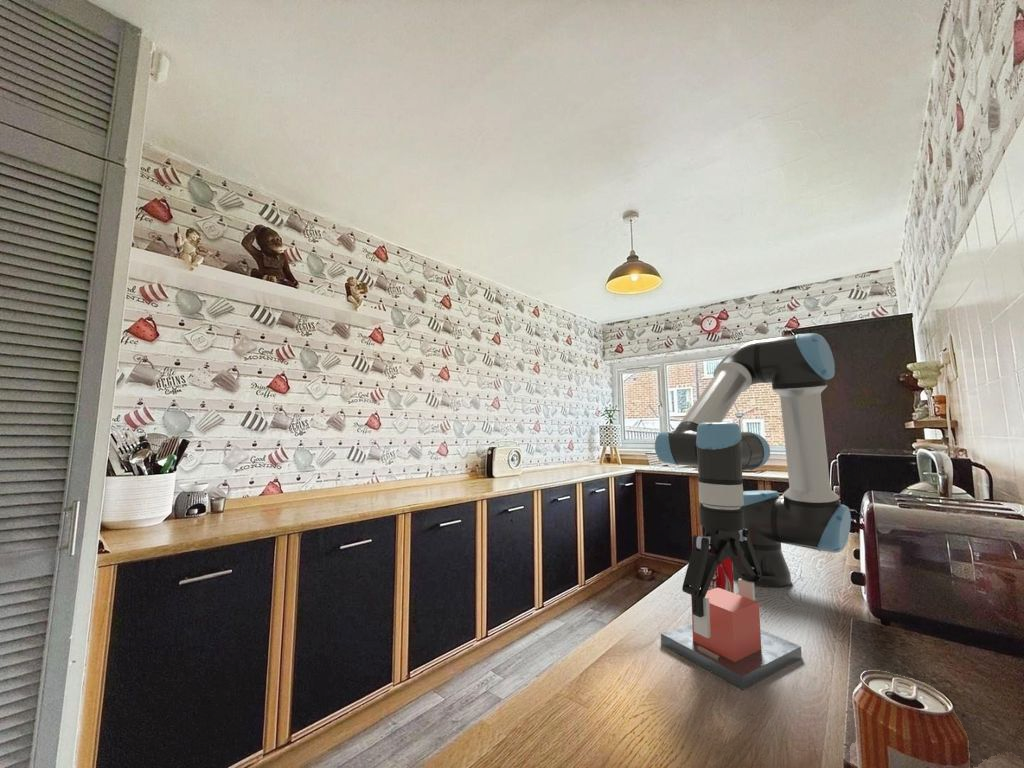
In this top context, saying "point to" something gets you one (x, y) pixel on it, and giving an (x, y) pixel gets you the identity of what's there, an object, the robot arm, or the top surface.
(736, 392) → the robot arm
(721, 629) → the salmon pink cube
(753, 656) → the panel
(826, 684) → the top surface
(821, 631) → the top surface
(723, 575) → the soda can
